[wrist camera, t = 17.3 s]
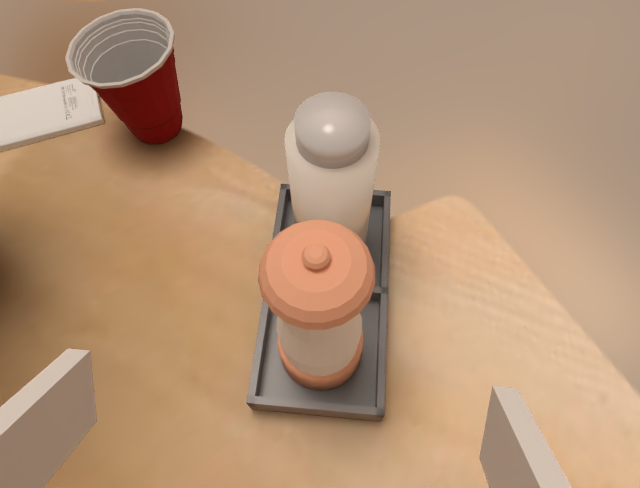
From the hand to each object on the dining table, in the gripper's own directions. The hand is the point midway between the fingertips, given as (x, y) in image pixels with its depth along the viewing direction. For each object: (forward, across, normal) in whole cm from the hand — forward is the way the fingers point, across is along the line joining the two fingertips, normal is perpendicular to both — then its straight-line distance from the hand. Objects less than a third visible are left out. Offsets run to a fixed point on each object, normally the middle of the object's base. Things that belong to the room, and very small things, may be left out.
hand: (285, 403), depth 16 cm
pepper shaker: (+26, 0, -12) cm, 28 cm away
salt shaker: (+33, 0, -5) cm, 33 cm away
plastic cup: (+44, -22, +5) cm, 50 cm away
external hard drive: (+45, -36, +5) cm, 58 cm away
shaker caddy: (+30, 0, -9) cm, 31 cm away
